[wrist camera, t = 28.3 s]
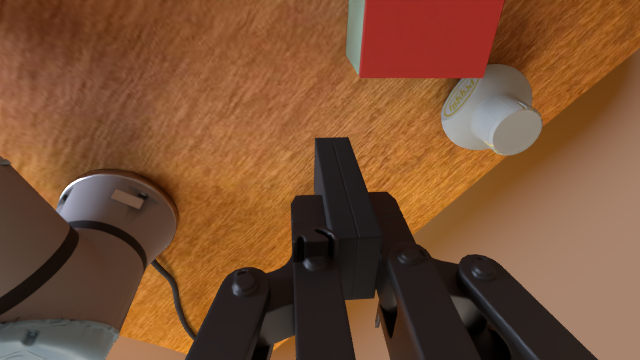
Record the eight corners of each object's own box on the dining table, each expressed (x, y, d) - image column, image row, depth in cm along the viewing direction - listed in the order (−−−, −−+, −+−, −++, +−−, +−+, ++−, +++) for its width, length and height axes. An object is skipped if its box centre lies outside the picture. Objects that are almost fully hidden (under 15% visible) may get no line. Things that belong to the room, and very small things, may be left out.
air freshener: (469, 146, 50) (507, 184, 41) (424, 122, 47) (455, 158, 39) (526, 78, 45) (581, 106, 36) (479, 47, 42) (528, 70, 34)
